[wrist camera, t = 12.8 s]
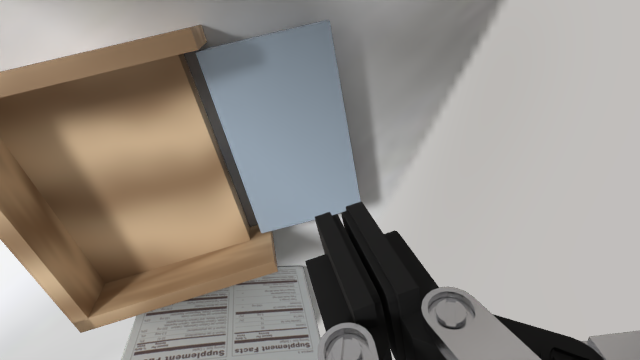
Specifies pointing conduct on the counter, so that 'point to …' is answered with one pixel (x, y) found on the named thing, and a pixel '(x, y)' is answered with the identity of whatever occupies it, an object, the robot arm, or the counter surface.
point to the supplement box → (233, 323)
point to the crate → (121, 183)
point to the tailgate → (285, 122)
